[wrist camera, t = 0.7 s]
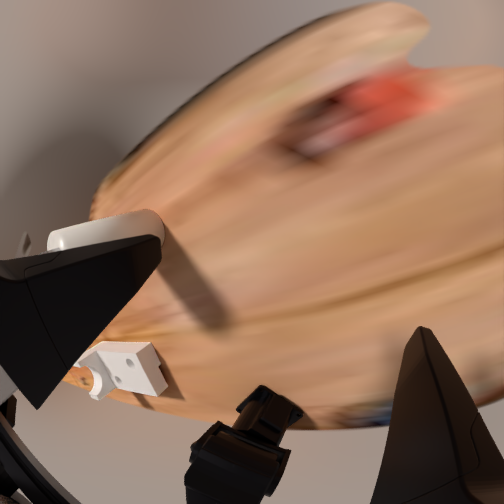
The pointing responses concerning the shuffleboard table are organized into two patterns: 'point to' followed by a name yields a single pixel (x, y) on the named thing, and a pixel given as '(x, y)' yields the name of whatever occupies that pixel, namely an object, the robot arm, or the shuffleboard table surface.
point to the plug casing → (107, 230)
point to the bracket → (123, 368)
